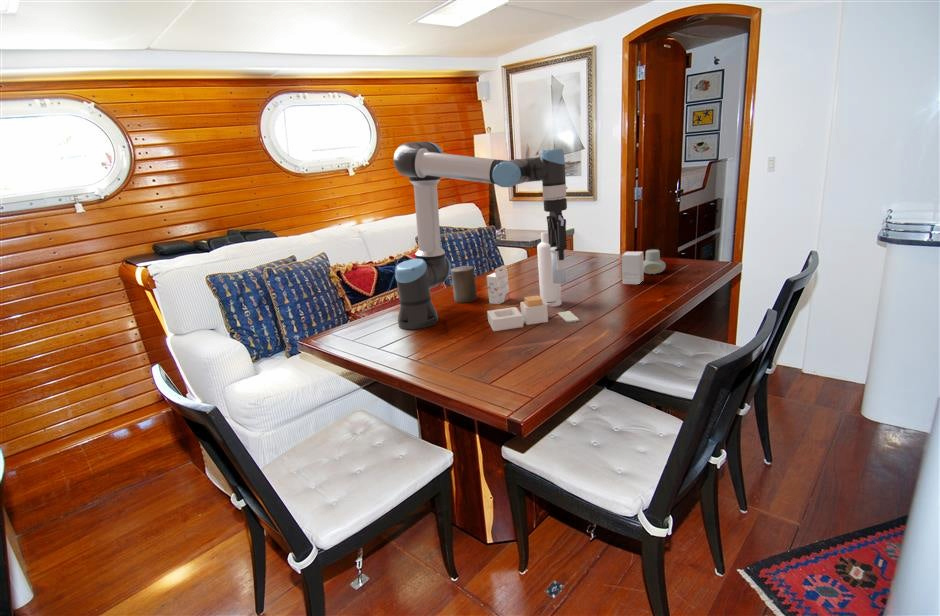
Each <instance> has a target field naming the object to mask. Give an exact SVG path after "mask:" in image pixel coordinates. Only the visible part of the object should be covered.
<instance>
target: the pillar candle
mask: <svg viewBox="0 0 940 616" xmlns="http://www.w3.org/2000/svg"><path fill="white" fill-rule="evenodd" d="M450 276H451V281H452V290H453V291H452V292H453V298H454V302H456V303H463V304H464V303H470V302H474V301H476V300H477V299H478V295H477V286H476V280H475V279H476V278H475V270H474V266H471V265H461V266H458V267H453V268H451V272H450Z"/></svg>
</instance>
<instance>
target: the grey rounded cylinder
mask: <svg viewBox="0 0 940 616" xmlns="http://www.w3.org/2000/svg"><path fill="white" fill-rule="evenodd" d="M555 249H557V246H556V247H551V248H550V251H551V258H552V276H553V283H556V284H565V283H566V282H567V278H566V268H565V269H560V270H557V263H556V251H555ZM565 251H566V249H565V250H564V252H565Z"/></svg>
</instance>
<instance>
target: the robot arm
mask: <svg viewBox="0 0 940 616" xmlns="http://www.w3.org/2000/svg"><path fill="white" fill-rule="evenodd" d="M565 158H566V157H565V151H564V149H562V148H555V149H553V148H552V149H544V150H541V151H540V156H537V157H528V158H516V159H510V160H505V159H495V158H485V157H477V156H470V155H469V156H468V155H460V154H450V153H444V151H443V150H442V149H441V147H440V146H439V145H438V144H436V143H434V142H431V141H415V142H409V141H408V142H405V143H402V144H400V145H399V146H398V147H397V148H396V149H395V151H394V153H393V165H394V167H395V169H396V171H397V172H398V173H399V174H400V175H402V176H404V177H406V178H408V180H409V181H408V182H410V183H411V184H412V186H413V191H414V192H413V195H414V205H415V216H416V217H415V218H416V230H417V243H418V249H417V250H416V252H415V253H414V255H415V258H412V259H410V258H409V259H408V260H404V261H402V262H400V263H398V264H397V265H396V266H395V269H394V270H395V276H394V277H395V281H396V286H397V294H398V300H399V304H400V305H399V311H398V312H399V313H398V318H397V324H398V327H399V328H401V329H403V330H420V329H425V328H428V327H431V326H433V325H436V324H437V323H438V322H439V316H438V312H437V310H436V308H435V305H434V304H433V302H432V298H431V291H430V290H431V289H434V288H435V287H437V286H440V285H441V284H443V283H444V282H445V281H446V280H448V278H449V277H450V276H451V269H452V266H451V261H450V259H448V257H447V256H446V251H445V250H444V249H443V248H442V246H441V245H442V243H441V229H440V217H439V216H440V214H439V212H440V211H439V199H438V197H439V195H438V184H439V182H440V181H441V178H445V179H453V180H459V181H461V180H462V181H468V182H476V183H485V184H492V185H497V186H498V187H500V188H512V187H513V186H517V185H520V184H524V183H530V182H542V186H541V188H542V198H543V199H544V200H543V211H544V212H547V213H549V215H548V216H546V223H547V231H548V241H549V245H550V247H556V246H557V249H555V251H556V263H557V270H560V269H565V270H566V257H565V254H566V253H565V251H566V249H568V248H567V247H568V245H567V219H566V218H564V216H563V211H566V210H567V209H568V199H567V198H566V196H567V190H568V186H566V183H567V182H566V180H567V179H566V161H565V160H566V159H565ZM564 250H565V251H564Z"/></svg>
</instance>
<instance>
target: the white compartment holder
mask: <svg viewBox="0 0 940 616" xmlns="http://www.w3.org/2000/svg"><path fill="white" fill-rule="evenodd" d="M519 304H520V310H519V309H518V308H517V307H516V306H514V307H513V306H512V307H506V308H500V309H492V310H487V311H486V312H487V313H486V314H487V320H488V321H487V322H488V324H489V325H490V327H491V329H492V331H493V332H498V331H504V330H510V329H511V330H512V329H517V328H518V329H519V328H524V324H526V325H527V326H528V325H535V324H541V323H542V324H543V323H549V315H548V314H549V312H548V305H547V304H546V303H545V302H543V301H542V305H538V306H531V307H527V306H526V305H525V300H524V301H520V302H519Z"/></svg>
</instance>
